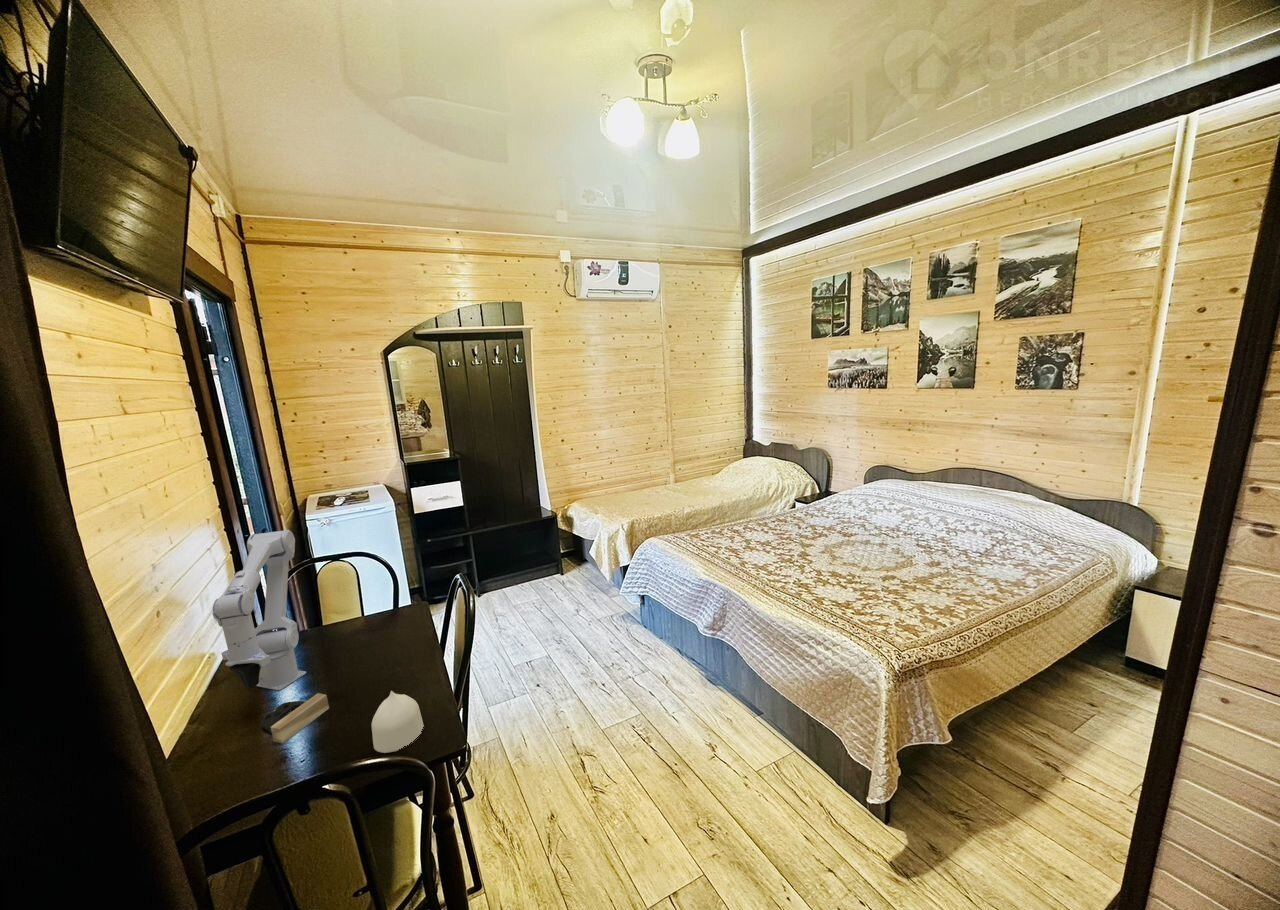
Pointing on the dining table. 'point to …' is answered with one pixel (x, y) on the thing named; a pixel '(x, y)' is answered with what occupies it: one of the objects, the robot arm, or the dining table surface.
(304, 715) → the bench stop
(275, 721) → the gaming controller
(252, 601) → the robot arm
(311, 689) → the dining table surface
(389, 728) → the teardrop
